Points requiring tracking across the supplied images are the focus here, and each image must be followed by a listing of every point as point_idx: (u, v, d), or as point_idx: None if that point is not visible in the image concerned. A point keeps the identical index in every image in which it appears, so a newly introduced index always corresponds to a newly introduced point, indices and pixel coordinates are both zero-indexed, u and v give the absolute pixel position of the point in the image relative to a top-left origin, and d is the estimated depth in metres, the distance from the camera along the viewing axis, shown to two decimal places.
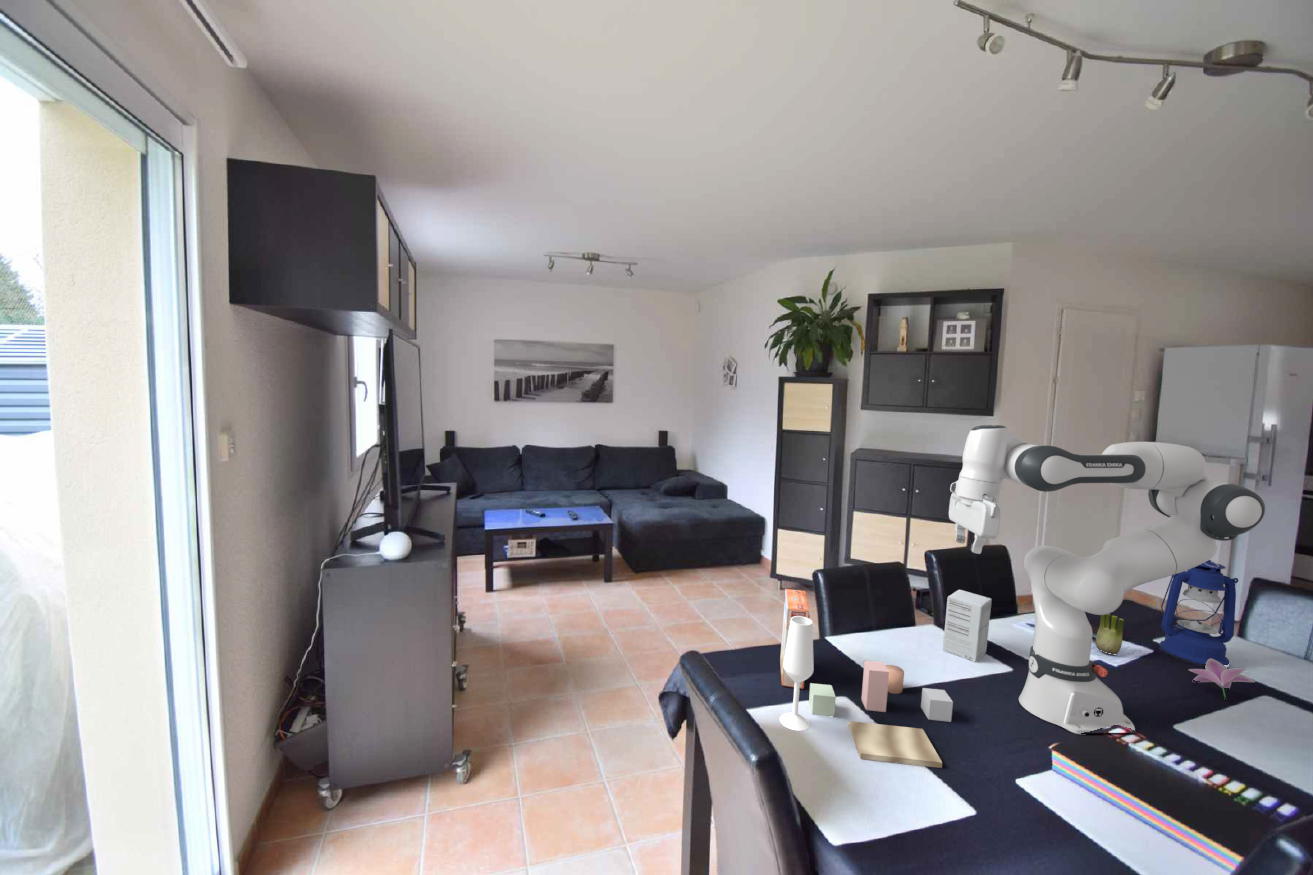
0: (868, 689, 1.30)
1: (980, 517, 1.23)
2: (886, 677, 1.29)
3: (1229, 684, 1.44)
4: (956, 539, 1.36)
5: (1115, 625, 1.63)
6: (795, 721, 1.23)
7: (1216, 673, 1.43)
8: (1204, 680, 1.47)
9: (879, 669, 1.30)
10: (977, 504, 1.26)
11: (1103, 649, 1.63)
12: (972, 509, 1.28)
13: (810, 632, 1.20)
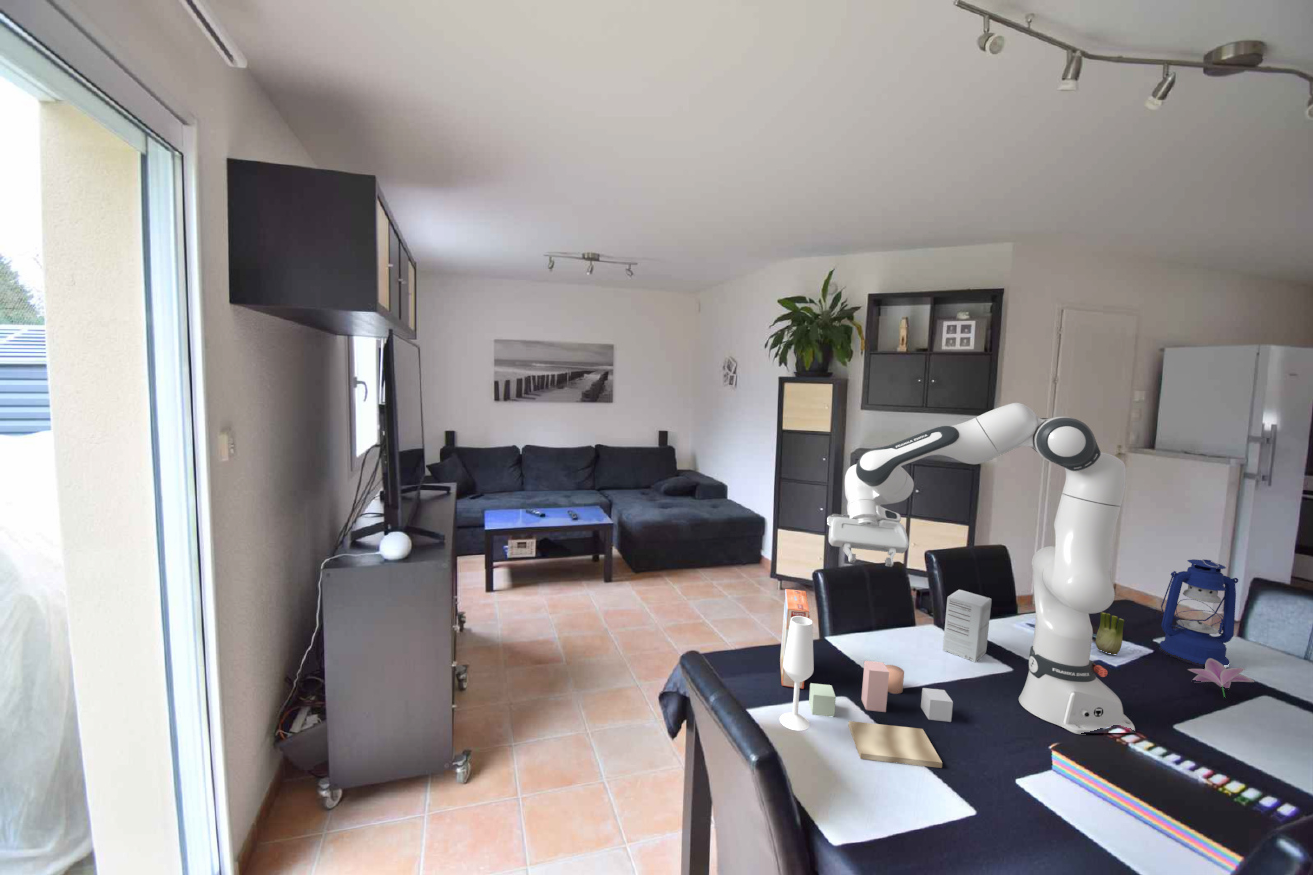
0: (868, 689, 1.30)
1: None
2: (886, 677, 1.29)
3: (1228, 684, 1.44)
4: None
5: (1115, 625, 1.63)
6: (795, 721, 1.23)
7: (1216, 673, 1.43)
8: (1203, 680, 1.48)
9: (879, 669, 1.30)
10: None
11: (1103, 649, 1.63)
12: None
13: (810, 632, 1.20)
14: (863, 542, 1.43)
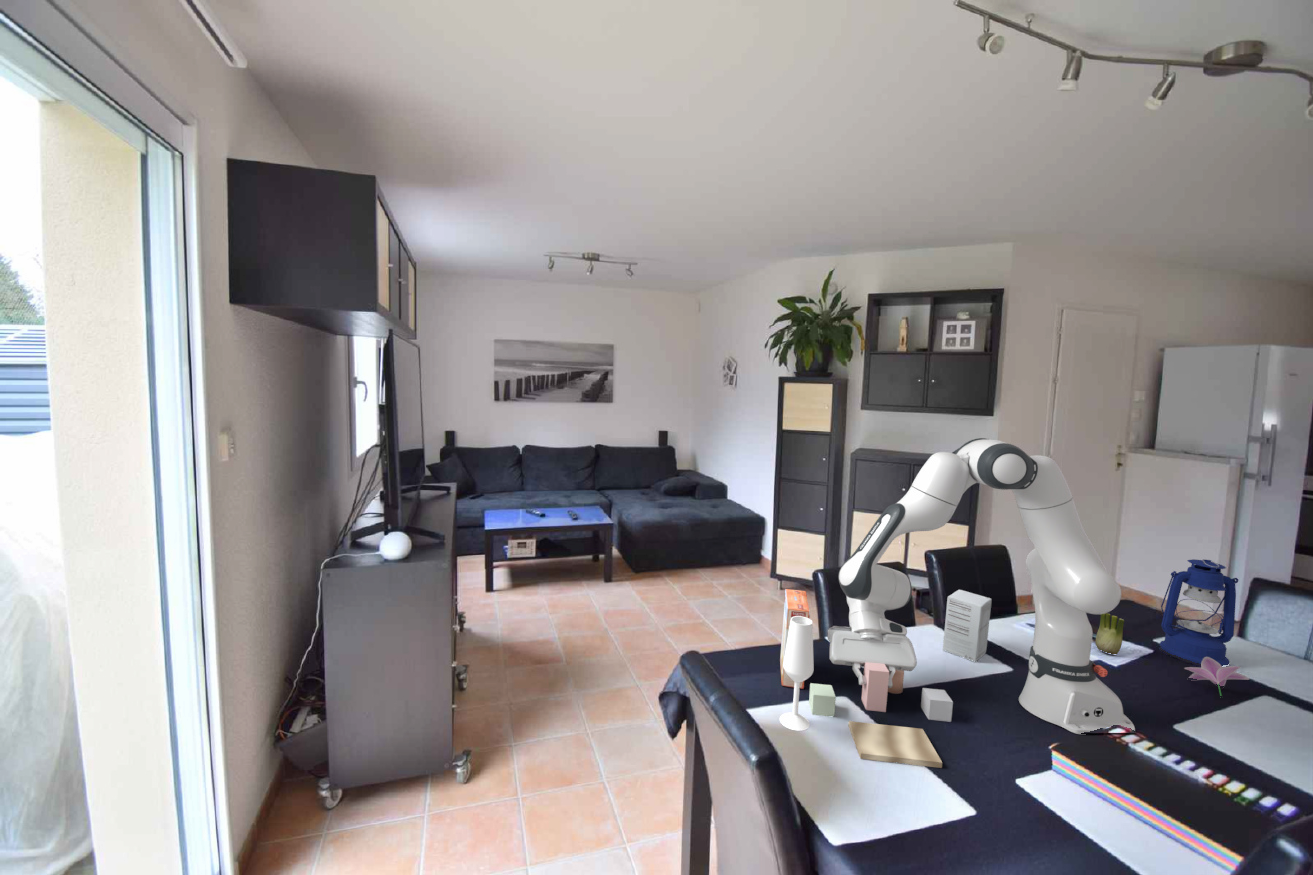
0: (868, 689, 1.30)
1: None
2: (886, 677, 1.29)
3: (1224, 682, 1.45)
4: None
5: (1115, 625, 1.63)
6: (795, 721, 1.23)
7: (1212, 671, 1.44)
8: (1199, 678, 1.49)
9: (879, 669, 1.30)
10: None
11: (1103, 649, 1.63)
12: None
13: (810, 632, 1.20)
14: (866, 661, 1.33)
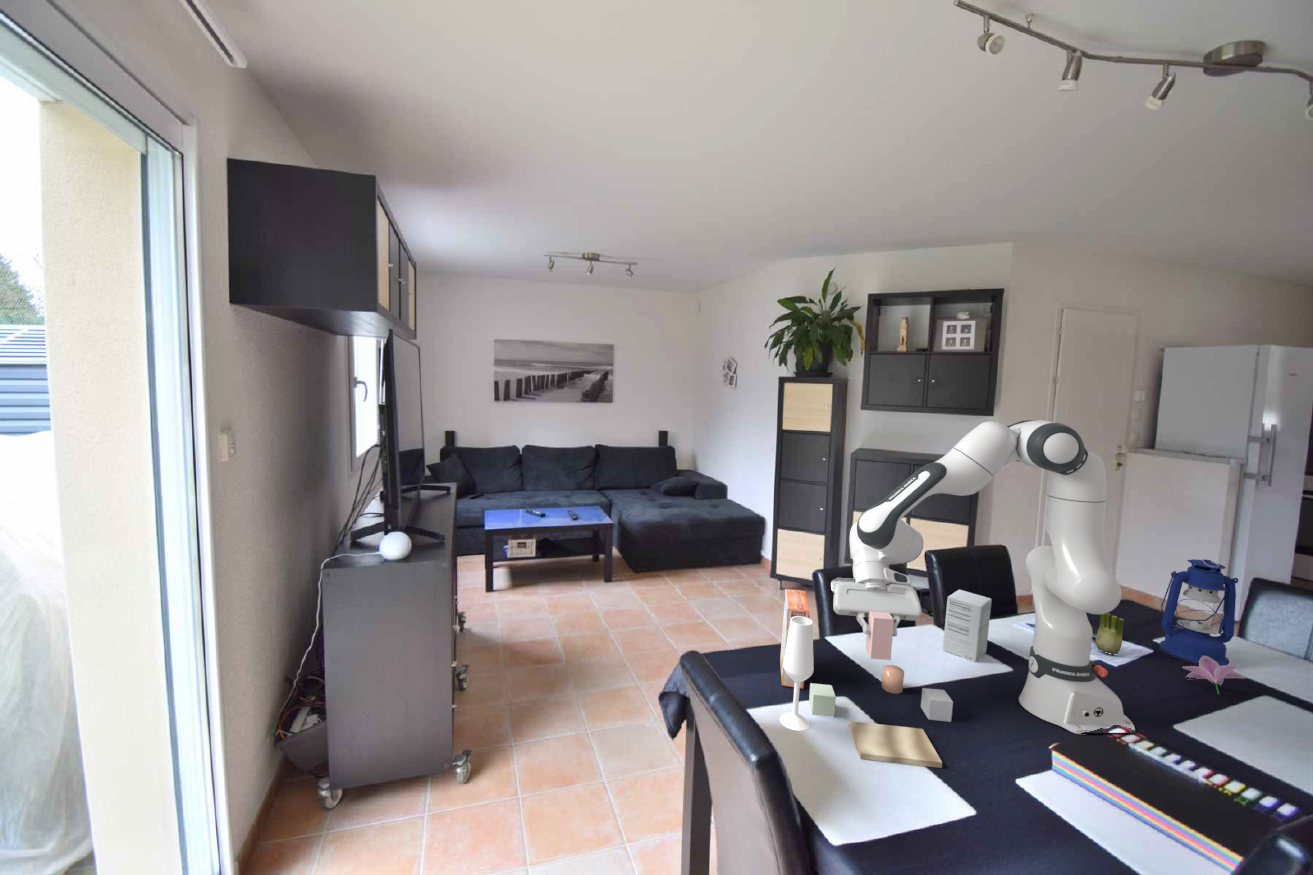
0: (873, 637, 1.28)
1: None
2: (891, 624, 1.28)
3: (1221, 680, 1.46)
4: None
5: (1115, 625, 1.63)
6: (795, 721, 1.23)
7: (1209, 670, 1.45)
8: (1197, 677, 1.49)
9: (884, 617, 1.29)
10: None
11: (1103, 649, 1.63)
12: None
13: (810, 632, 1.20)
14: (871, 610, 1.32)
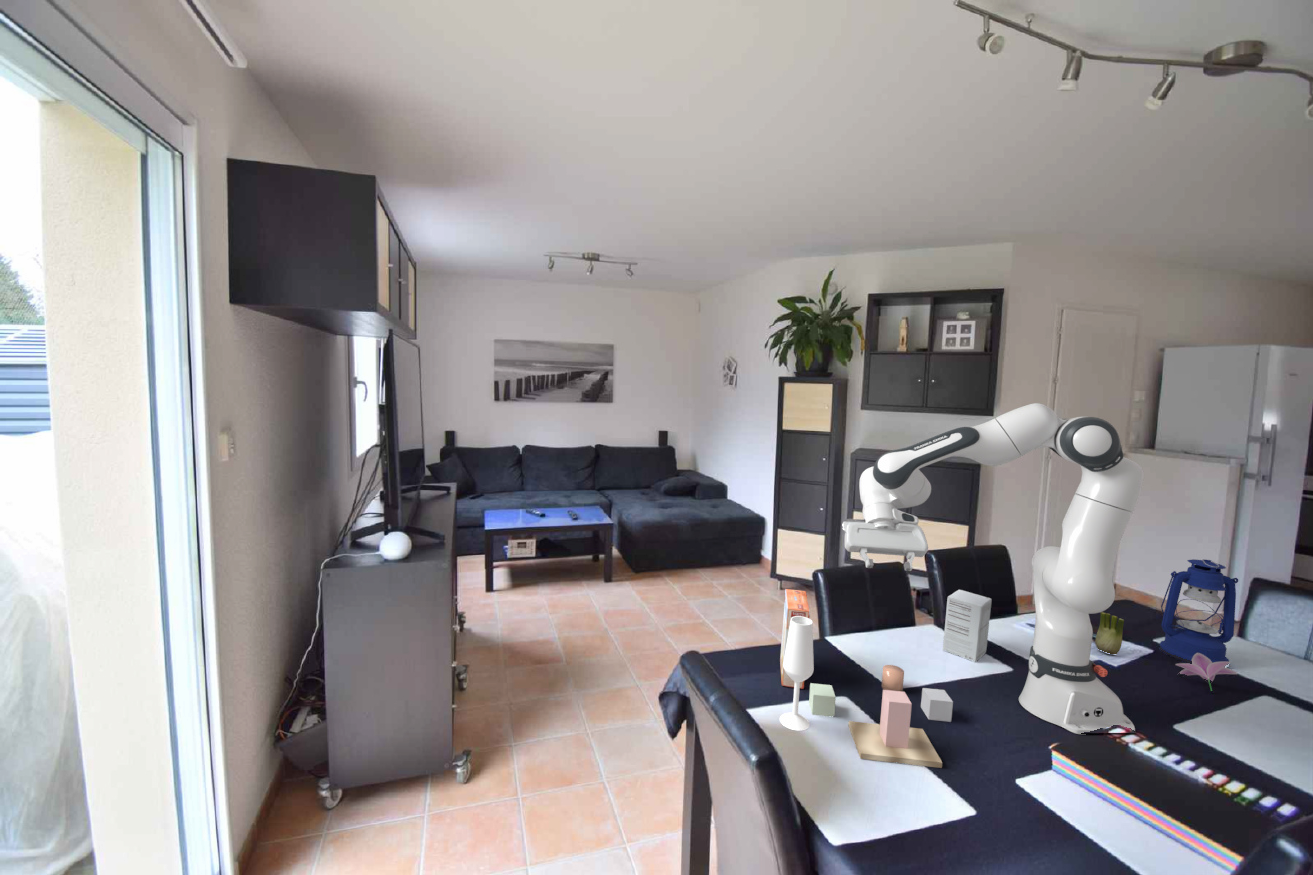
0: (888, 723, 1.15)
1: None
2: (908, 709, 1.14)
3: (1213, 677, 1.48)
4: None
5: (1115, 625, 1.63)
6: (795, 721, 1.23)
7: (1202, 667, 1.46)
8: (1189, 673, 1.51)
9: (900, 700, 1.15)
10: None
11: (1103, 649, 1.63)
12: None
13: (810, 632, 1.20)
14: (880, 547, 1.40)
